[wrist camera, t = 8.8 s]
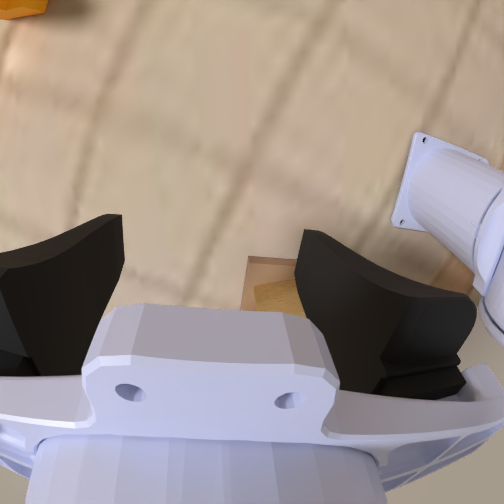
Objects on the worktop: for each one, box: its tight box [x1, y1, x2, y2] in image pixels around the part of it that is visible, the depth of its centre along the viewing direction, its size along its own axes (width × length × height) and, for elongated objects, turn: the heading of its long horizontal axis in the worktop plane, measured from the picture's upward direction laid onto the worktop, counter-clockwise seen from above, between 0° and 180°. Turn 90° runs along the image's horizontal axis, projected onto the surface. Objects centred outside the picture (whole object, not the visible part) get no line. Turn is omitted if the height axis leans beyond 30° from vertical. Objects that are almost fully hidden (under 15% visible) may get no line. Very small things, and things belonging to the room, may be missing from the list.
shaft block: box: [240, 256, 297, 311], centre depth 24 cm, size 8×8×4 cm
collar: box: [253, 278, 306, 318], centre depth 23 cm, size 6×6×4 cm
